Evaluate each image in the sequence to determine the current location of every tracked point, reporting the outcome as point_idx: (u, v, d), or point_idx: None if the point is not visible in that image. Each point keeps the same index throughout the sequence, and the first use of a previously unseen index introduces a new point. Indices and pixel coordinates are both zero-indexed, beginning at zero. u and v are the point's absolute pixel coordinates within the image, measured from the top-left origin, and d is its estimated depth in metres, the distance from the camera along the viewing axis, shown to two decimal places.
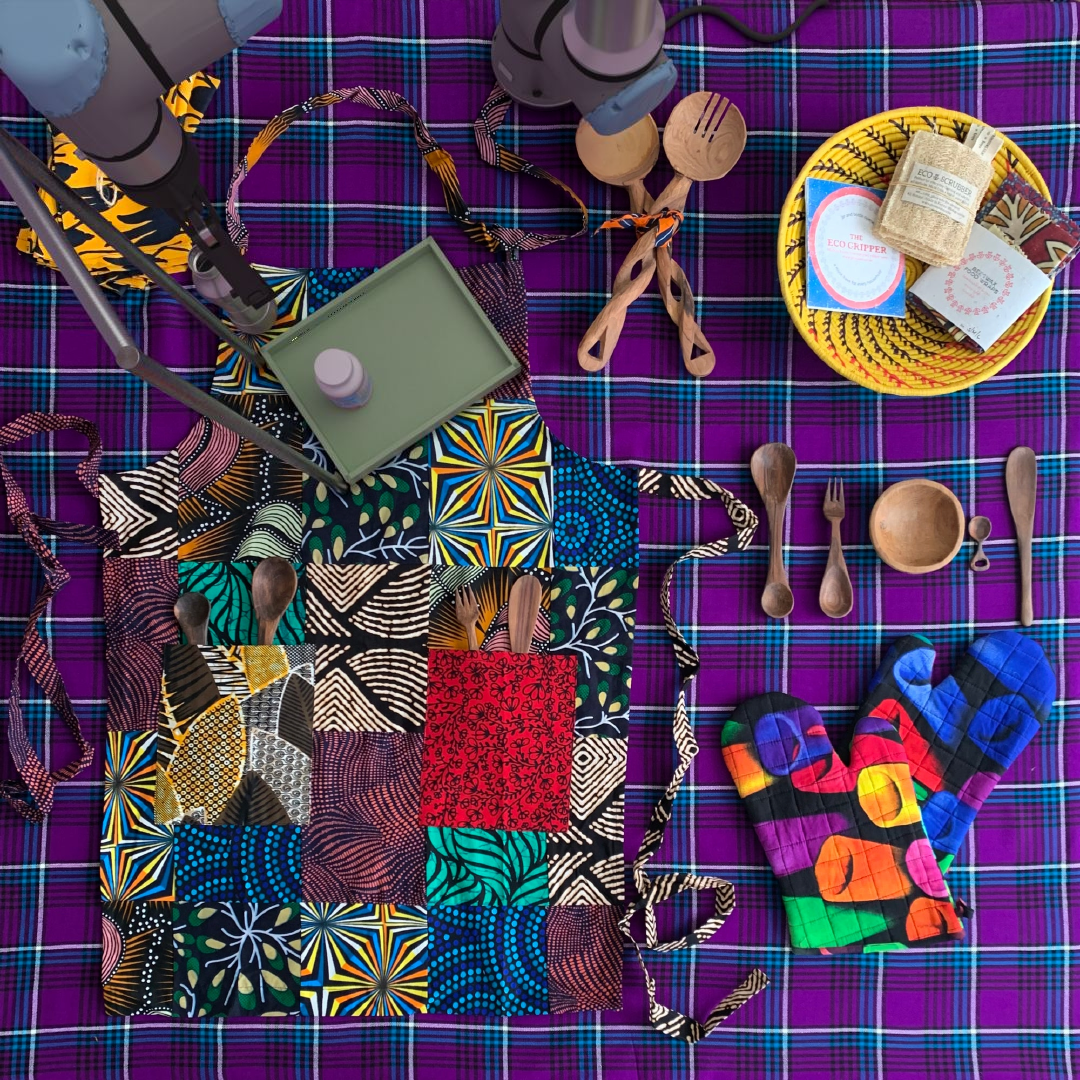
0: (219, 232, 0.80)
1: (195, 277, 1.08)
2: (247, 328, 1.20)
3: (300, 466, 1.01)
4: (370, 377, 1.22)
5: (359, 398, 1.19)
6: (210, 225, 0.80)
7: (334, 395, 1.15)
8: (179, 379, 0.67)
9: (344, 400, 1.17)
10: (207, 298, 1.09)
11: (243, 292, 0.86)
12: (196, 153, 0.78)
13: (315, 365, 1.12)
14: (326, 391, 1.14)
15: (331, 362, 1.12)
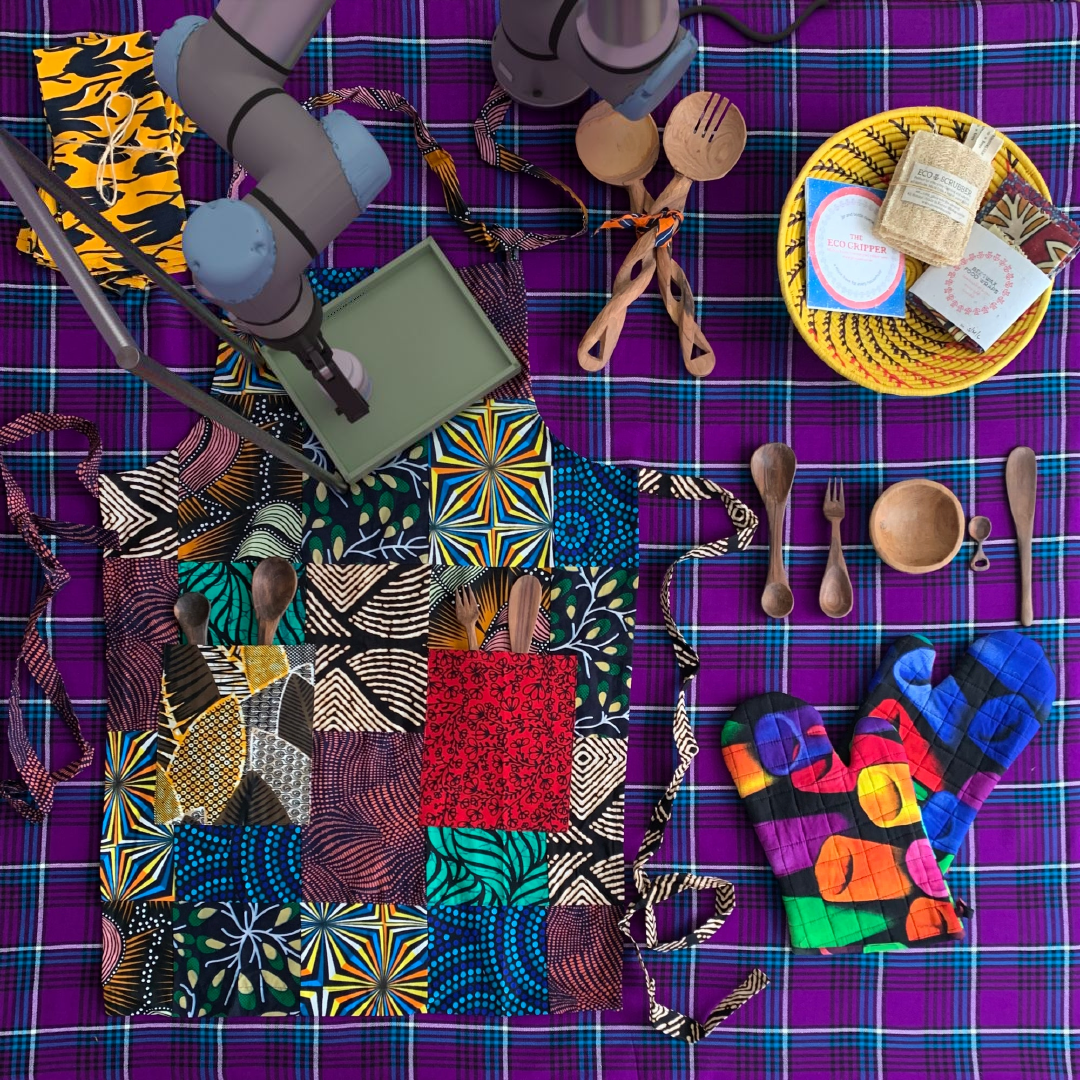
0: (336, 369, 0.94)
1: (195, 277, 1.08)
2: (247, 328, 1.20)
3: (300, 466, 1.01)
4: (370, 377, 1.22)
5: None
6: (329, 364, 0.94)
7: None
8: (179, 379, 0.67)
9: None
10: (207, 298, 1.09)
11: (349, 413, 1.00)
12: (320, 306, 0.92)
13: None
14: None
15: None
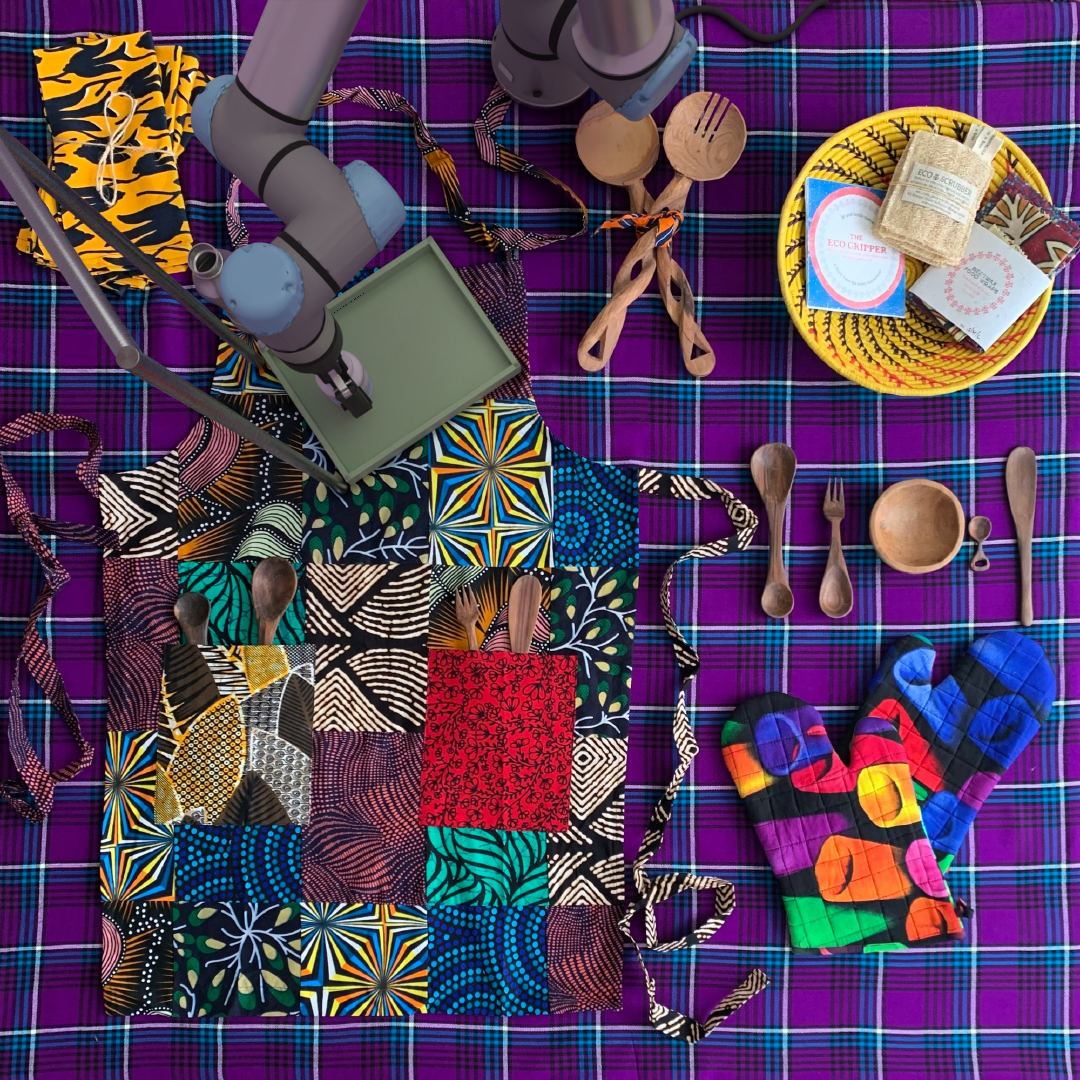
0: (357, 391, 1.05)
1: (195, 277, 1.08)
2: None
3: (300, 466, 1.01)
4: (370, 377, 1.22)
5: None
6: (352, 389, 1.04)
7: (334, 395, 1.15)
8: (179, 379, 0.67)
9: None
10: (207, 298, 1.09)
11: (357, 413, 1.11)
12: (340, 332, 1.01)
13: None
14: (326, 391, 1.14)
15: None
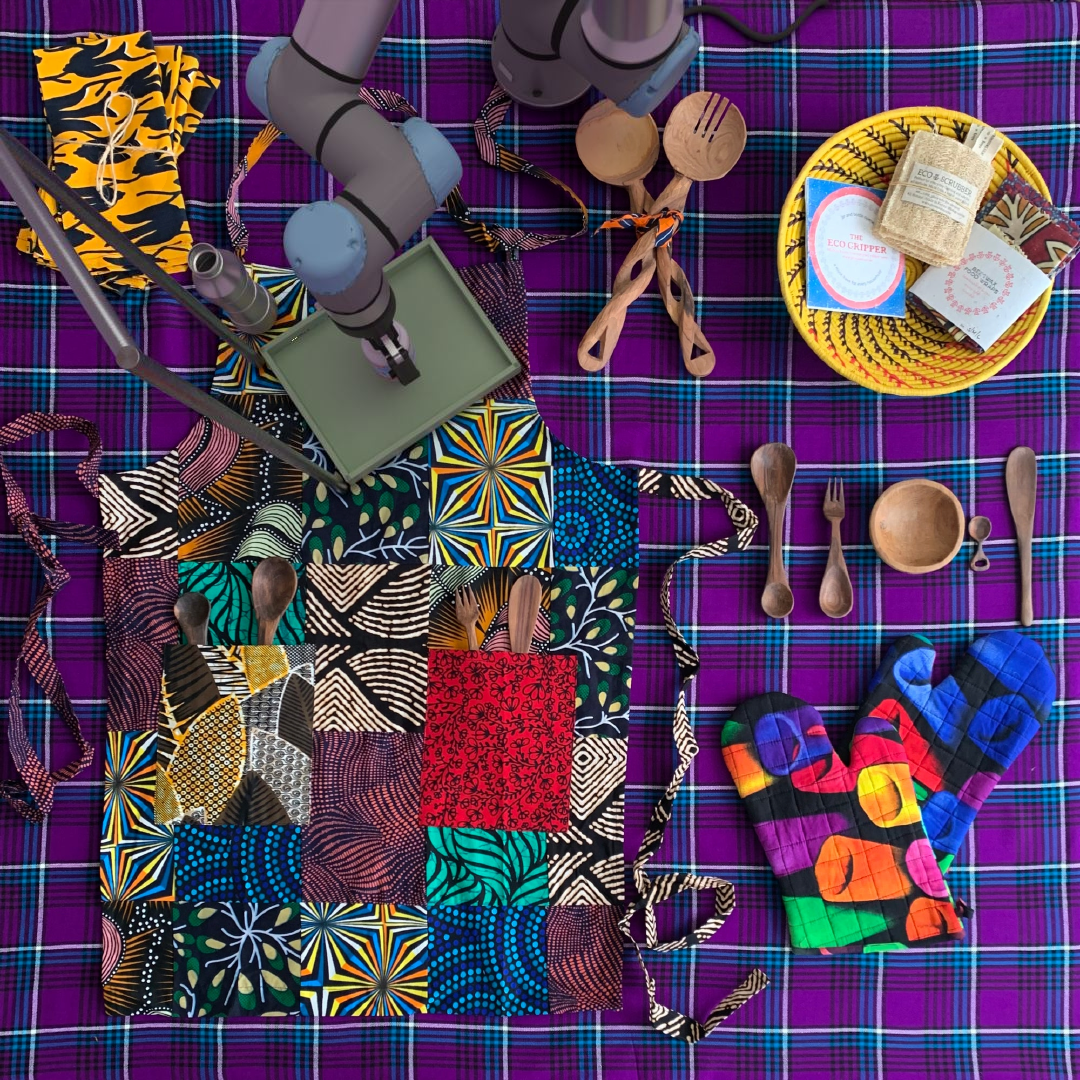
0: (408, 357, 1.05)
1: (195, 277, 1.08)
2: (247, 328, 1.20)
3: (300, 466, 1.01)
4: None
5: None
6: (404, 354, 1.04)
7: (381, 363, 1.15)
8: (179, 379, 0.67)
9: (390, 369, 1.17)
10: (207, 298, 1.09)
11: (406, 380, 1.12)
12: (394, 297, 1.01)
13: None
14: (373, 359, 1.15)
15: None
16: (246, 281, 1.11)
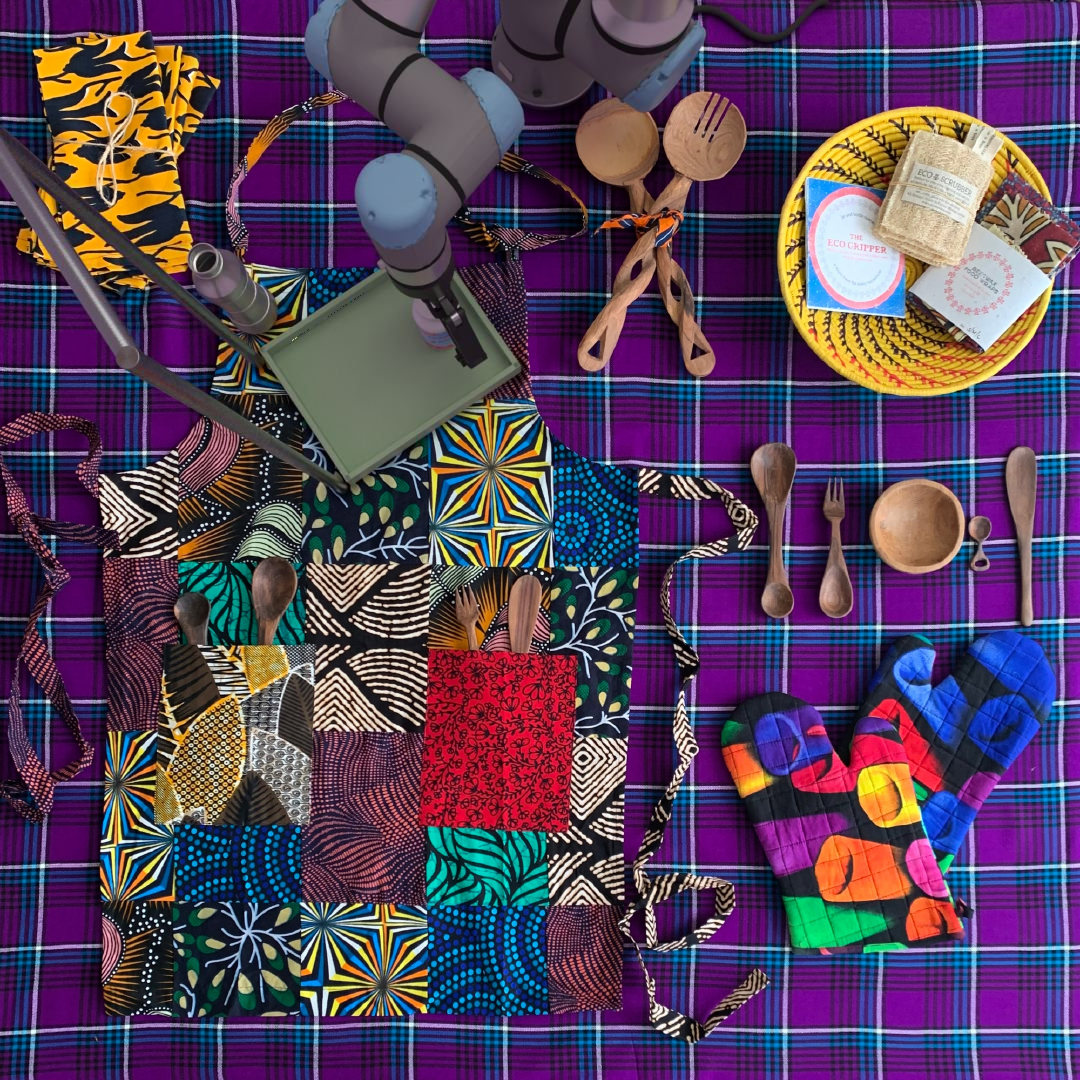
0: (465, 316, 1.04)
1: (195, 277, 1.08)
2: (247, 328, 1.20)
3: (300, 466, 1.01)
4: None
5: None
6: (460, 311, 1.03)
7: (432, 331, 1.15)
8: (179, 379, 0.67)
9: (440, 337, 1.17)
10: (207, 298, 1.09)
11: (471, 358, 1.10)
12: (453, 257, 1.01)
13: (415, 299, 1.12)
14: (424, 327, 1.15)
15: None
16: (246, 281, 1.11)
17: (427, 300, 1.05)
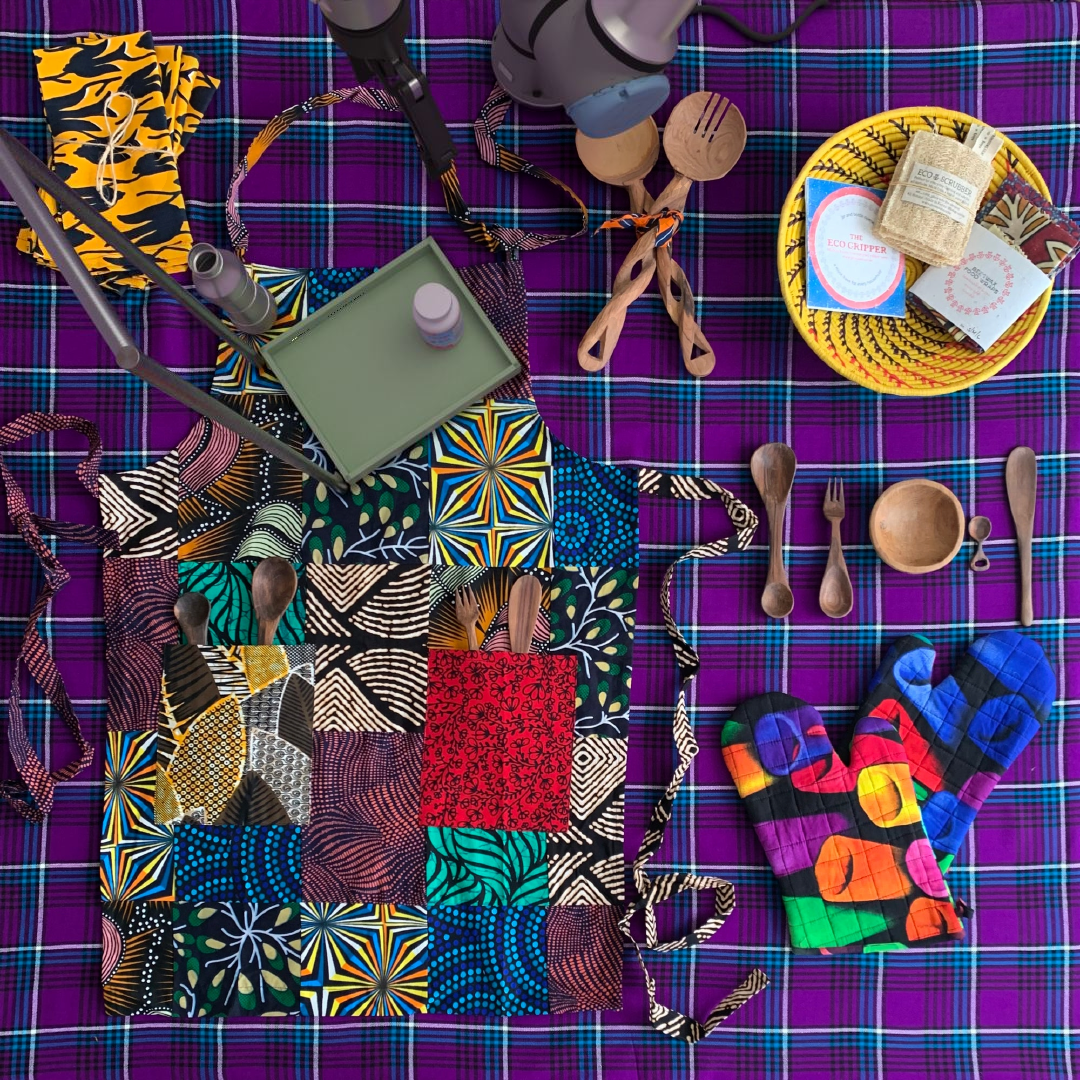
0: (426, 83, 0.83)
1: (195, 277, 1.08)
2: (247, 328, 1.20)
3: (300, 466, 1.01)
4: None
5: (453, 335, 1.19)
6: (419, 76, 0.83)
7: (432, 331, 1.15)
8: (179, 379, 0.67)
9: (440, 337, 1.17)
10: (207, 298, 1.09)
11: (437, 151, 0.89)
12: None
13: (415, 299, 1.12)
14: (424, 326, 1.15)
15: (431, 296, 1.13)
16: (246, 281, 1.11)
17: (379, 70, 0.85)
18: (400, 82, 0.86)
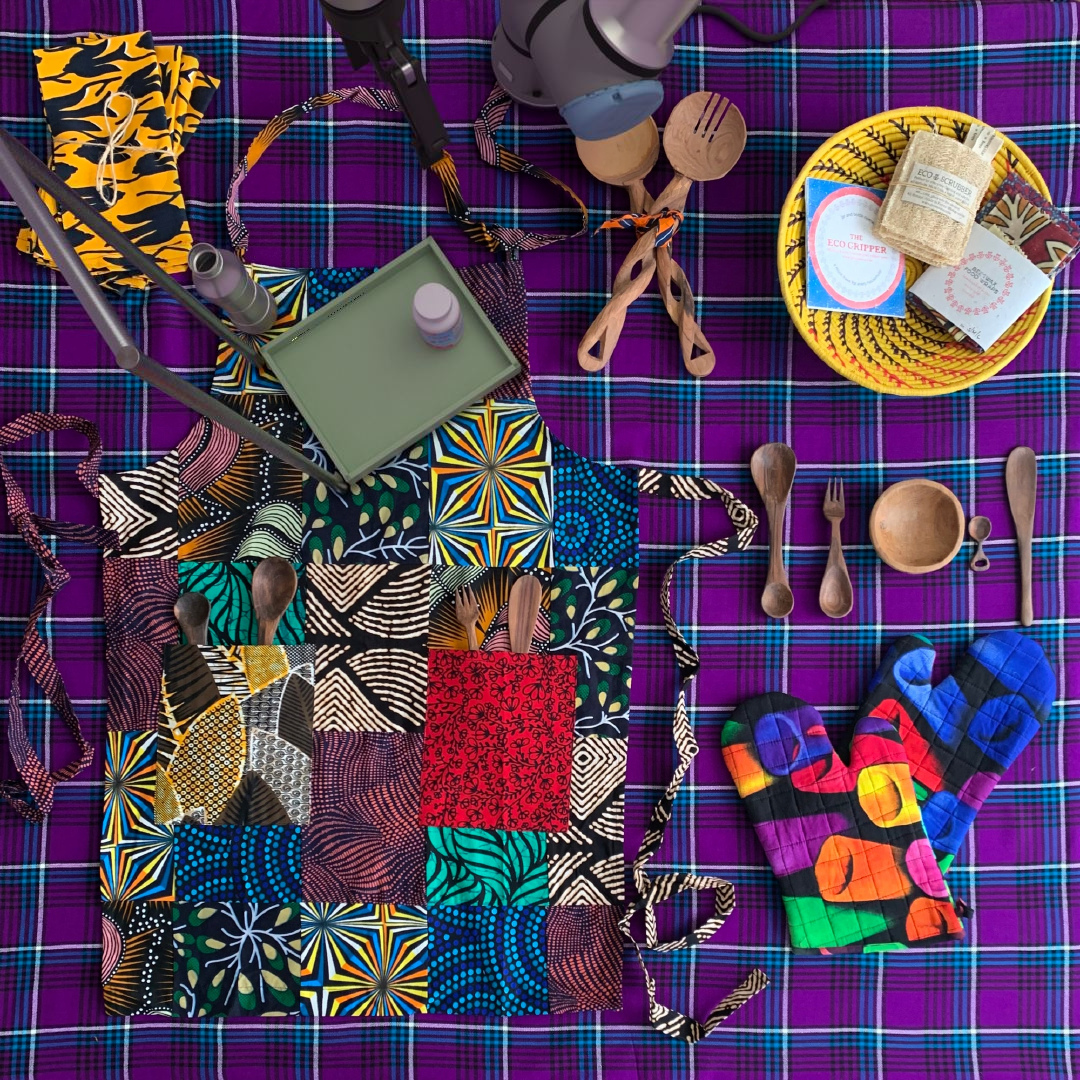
0: (419, 68, 0.83)
1: (195, 277, 1.08)
2: (247, 328, 1.20)
3: (300, 466, 1.01)
4: None
5: (453, 335, 1.19)
6: (412, 60, 0.82)
7: (432, 331, 1.15)
8: (179, 379, 0.67)
9: (440, 337, 1.17)
10: (207, 298, 1.09)
11: (429, 138, 0.89)
12: None
13: (415, 299, 1.12)
14: (424, 326, 1.15)
15: (431, 296, 1.13)
16: (246, 281, 1.11)
17: (373, 53, 0.84)
18: (393, 67, 0.86)
